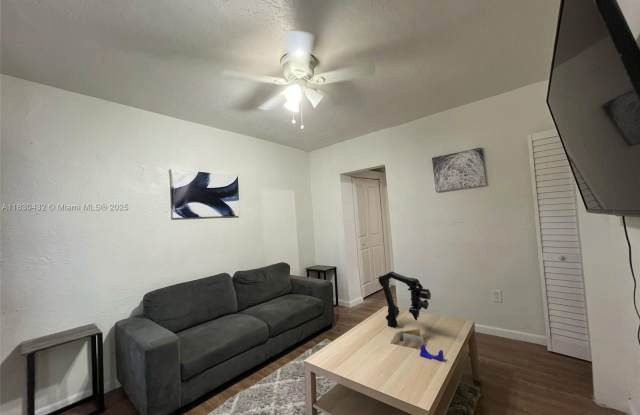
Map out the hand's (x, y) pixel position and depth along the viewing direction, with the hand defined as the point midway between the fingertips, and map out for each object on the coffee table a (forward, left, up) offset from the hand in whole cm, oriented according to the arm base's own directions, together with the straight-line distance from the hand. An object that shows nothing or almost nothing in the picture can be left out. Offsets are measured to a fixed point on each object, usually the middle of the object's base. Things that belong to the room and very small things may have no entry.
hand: (417, 318), depth 183 cm
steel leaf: (-1, -15, -10) cm, 18 cm away
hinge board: (-3, -13, -11) cm, 17 cm away
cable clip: (+13, -29, -11) cm, 33 cm away
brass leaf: (-3, -9, -10) cm, 14 cm away
